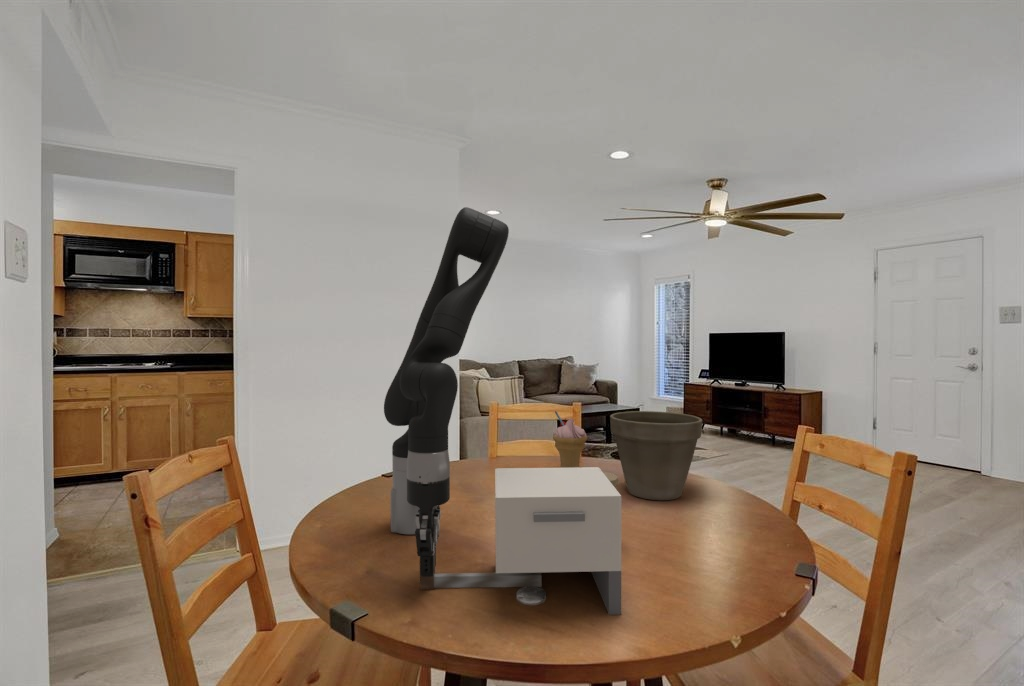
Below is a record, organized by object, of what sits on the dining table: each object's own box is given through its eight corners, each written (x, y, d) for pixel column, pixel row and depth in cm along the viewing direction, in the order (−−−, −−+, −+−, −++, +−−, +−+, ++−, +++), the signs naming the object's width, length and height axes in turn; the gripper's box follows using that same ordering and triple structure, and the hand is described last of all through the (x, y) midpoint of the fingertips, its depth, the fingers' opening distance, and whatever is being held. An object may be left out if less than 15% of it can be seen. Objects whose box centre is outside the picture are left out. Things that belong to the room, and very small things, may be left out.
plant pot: (658, 476, 164) (658, 407, 164) (722, 498, 142) (722, 418, 142) (592, 487, 153) (592, 413, 152) (651, 513, 131) (651, 426, 130)
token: (516, 607, 86) (516, 601, 86) (515, 592, 91) (515, 586, 91) (547, 606, 87) (547, 600, 87) (544, 591, 92) (544, 586, 92)
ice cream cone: (558, 479, 161) (558, 414, 161) (548, 470, 172) (548, 409, 172) (592, 477, 163) (592, 413, 163) (580, 468, 174) (580, 408, 174)
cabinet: (495, 620, 82) (495, 499, 82) (495, 566, 101) (495, 468, 100) (622, 617, 83) (622, 498, 82) (598, 564, 102) (598, 467, 101)
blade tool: (419, 589, 92) (419, 532, 92) (421, 583, 94) (421, 527, 94) (541, 588, 92) (541, 531, 92) (540, 581, 95) (540, 526, 94)
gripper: (413, 465, 100) (413, 555, 100) (399, 485, 86) (399, 591, 86) (453, 465, 100) (453, 555, 100) (445, 485, 86) (445, 590, 86)
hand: (428, 571), depth 93 cm, fingers closed on blade tool, 2 cm apart
